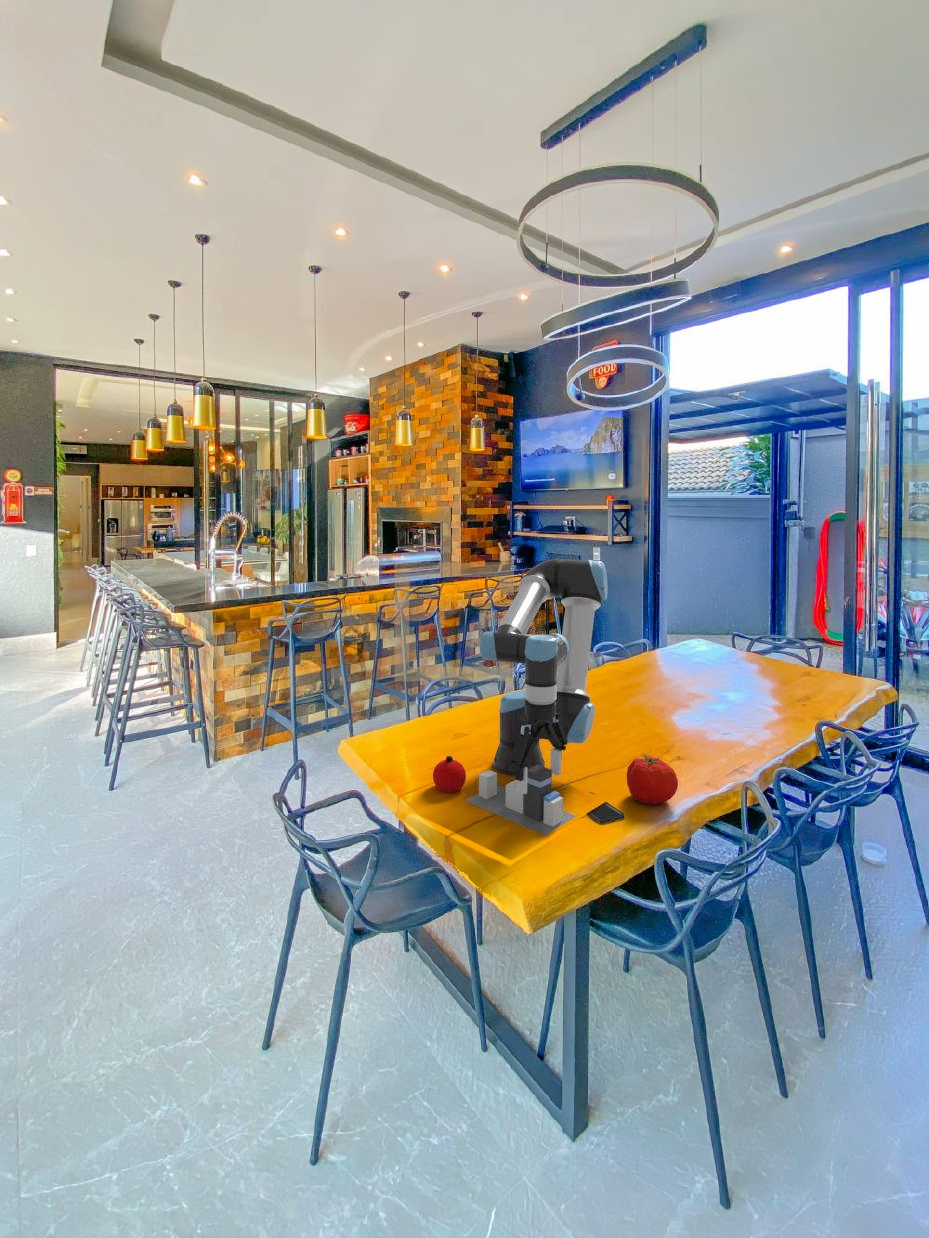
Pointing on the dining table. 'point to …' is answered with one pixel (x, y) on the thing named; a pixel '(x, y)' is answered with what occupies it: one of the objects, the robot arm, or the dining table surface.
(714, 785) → the dining table surface
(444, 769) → the ornament
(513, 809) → the grey plate with blocks
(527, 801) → the plug
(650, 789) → the tomato
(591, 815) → the phone
